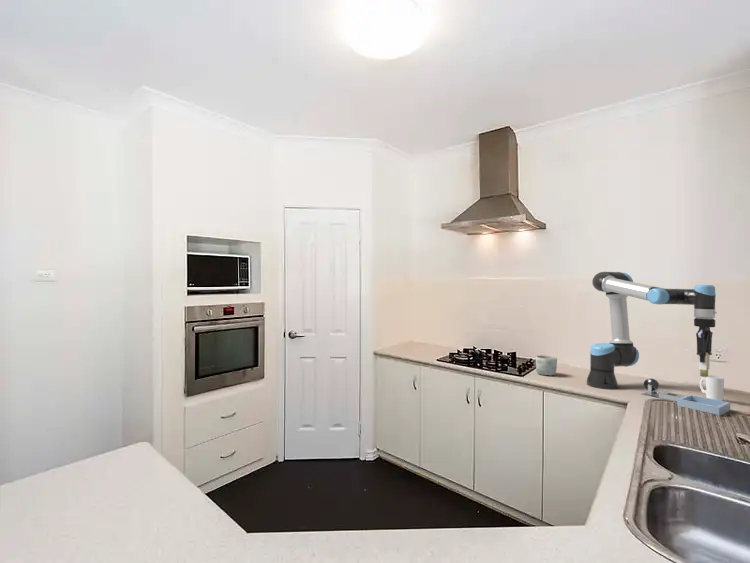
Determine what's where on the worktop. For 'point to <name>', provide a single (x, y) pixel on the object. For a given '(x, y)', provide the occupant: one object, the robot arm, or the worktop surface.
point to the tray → (704, 404)
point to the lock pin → (704, 372)
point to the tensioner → (654, 385)
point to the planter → (546, 365)
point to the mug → (713, 387)
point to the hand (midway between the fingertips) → (704, 369)
